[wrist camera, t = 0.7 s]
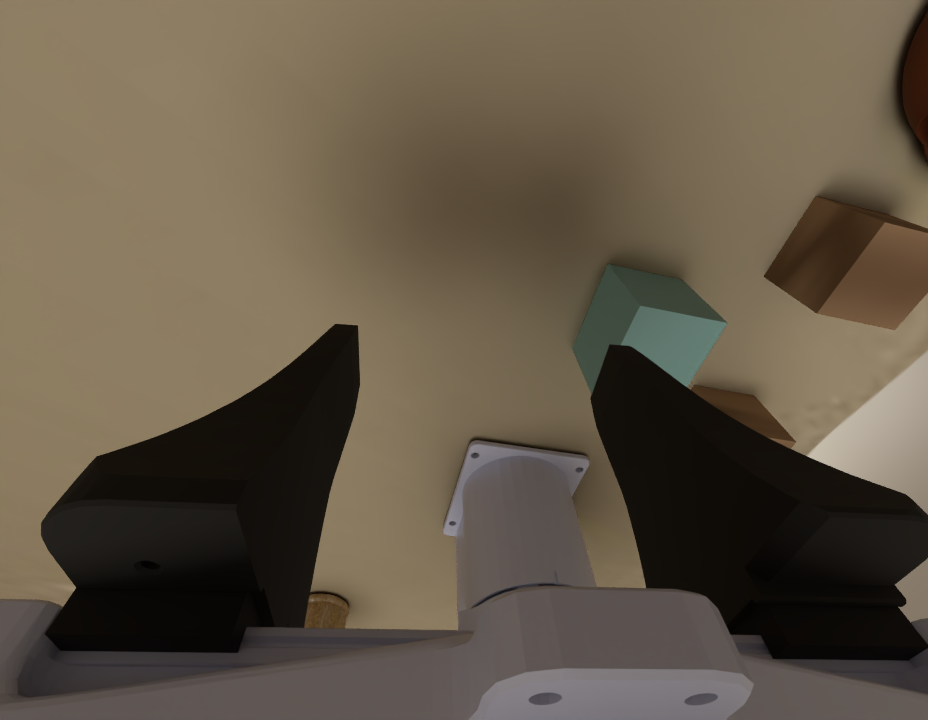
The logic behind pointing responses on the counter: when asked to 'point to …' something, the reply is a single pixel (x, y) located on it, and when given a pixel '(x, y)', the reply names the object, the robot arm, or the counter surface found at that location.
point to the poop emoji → (917, 84)
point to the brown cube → (854, 264)
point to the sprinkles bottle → (326, 612)
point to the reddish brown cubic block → (746, 412)
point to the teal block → (647, 323)
